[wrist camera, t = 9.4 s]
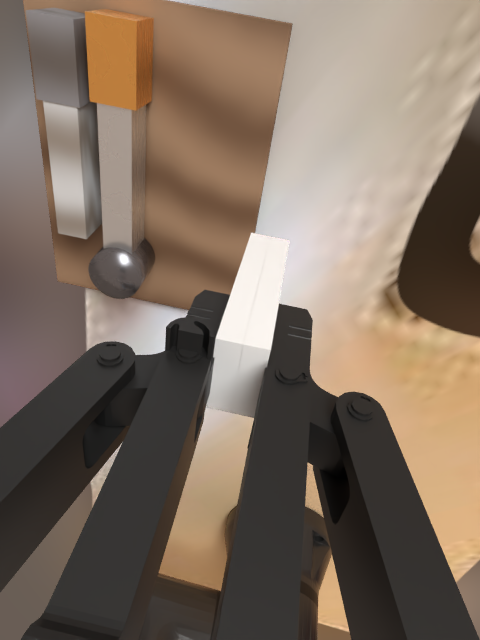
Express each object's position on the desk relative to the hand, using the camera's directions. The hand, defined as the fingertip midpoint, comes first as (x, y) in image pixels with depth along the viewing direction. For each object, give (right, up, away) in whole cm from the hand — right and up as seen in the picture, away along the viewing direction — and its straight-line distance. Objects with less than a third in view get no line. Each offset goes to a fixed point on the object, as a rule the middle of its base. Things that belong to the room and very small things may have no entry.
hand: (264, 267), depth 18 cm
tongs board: (-8, +10, +19) cm, 23 cm away
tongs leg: (-10, +10, +18) cm, 23 cm away
